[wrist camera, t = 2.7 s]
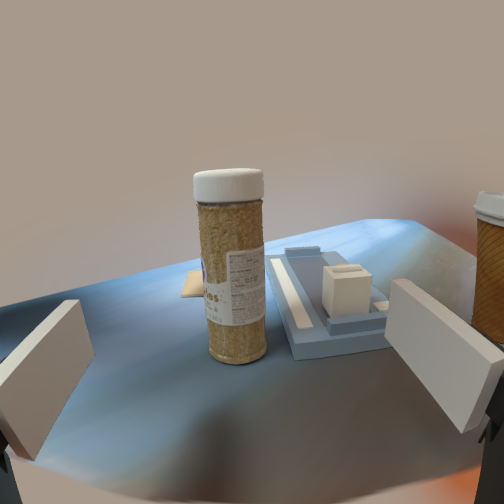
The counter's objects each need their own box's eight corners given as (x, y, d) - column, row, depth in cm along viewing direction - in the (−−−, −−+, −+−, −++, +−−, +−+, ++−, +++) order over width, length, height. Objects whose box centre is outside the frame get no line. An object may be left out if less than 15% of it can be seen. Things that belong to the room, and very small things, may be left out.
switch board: (294, 360, 22) (295, 331, 22) (264, 266, 43) (264, 248, 43) (413, 342, 23) (419, 315, 22) (335, 261, 44) (336, 244, 43)
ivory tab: (331, 319, 24) (334, 276, 23) (321, 303, 27) (323, 264, 26) (368, 314, 24) (372, 273, 23) (355, 300, 27) (358, 261, 26)
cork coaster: (181, 297, 34) (180, 294, 34) (189, 272, 42) (189, 270, 42) (254, 293, 35) (254, 290, 34) (250, 269, 42) (250, 267, 42)
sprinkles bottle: (201, 343, 25) (184, 171, 21) (252, 330, 27) (245, 167, 23) (222, 374, 21) (204, 171, 17) (279, 356, 23) (276, 167, 19)
